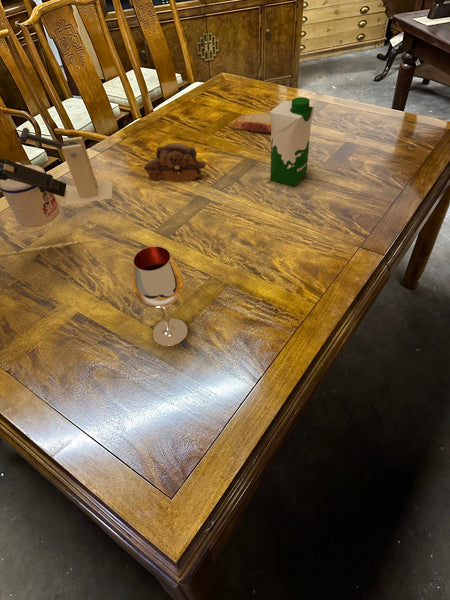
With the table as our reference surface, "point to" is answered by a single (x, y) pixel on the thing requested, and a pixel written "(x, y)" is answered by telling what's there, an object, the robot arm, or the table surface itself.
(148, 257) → the wineglass
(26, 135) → the lever
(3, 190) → the teacup with lid
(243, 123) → the slice of bread
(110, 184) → the tan upright plank
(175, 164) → the wooden carving
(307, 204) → the table surface
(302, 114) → the milk carton
